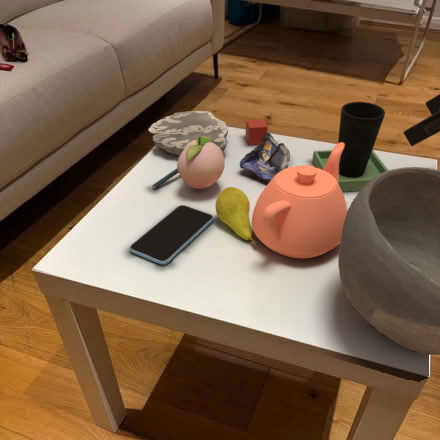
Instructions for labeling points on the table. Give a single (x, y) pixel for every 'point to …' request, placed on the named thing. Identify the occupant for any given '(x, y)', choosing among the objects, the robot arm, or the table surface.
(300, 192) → the teapot
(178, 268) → the table surface
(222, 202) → the fruit
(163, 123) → the brain slice
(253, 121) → the red block
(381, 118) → the cup
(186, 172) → the decorative fruit
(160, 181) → the pencil
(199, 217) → the smartphone
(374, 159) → the green tray
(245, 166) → the snack package
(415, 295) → the bowl
